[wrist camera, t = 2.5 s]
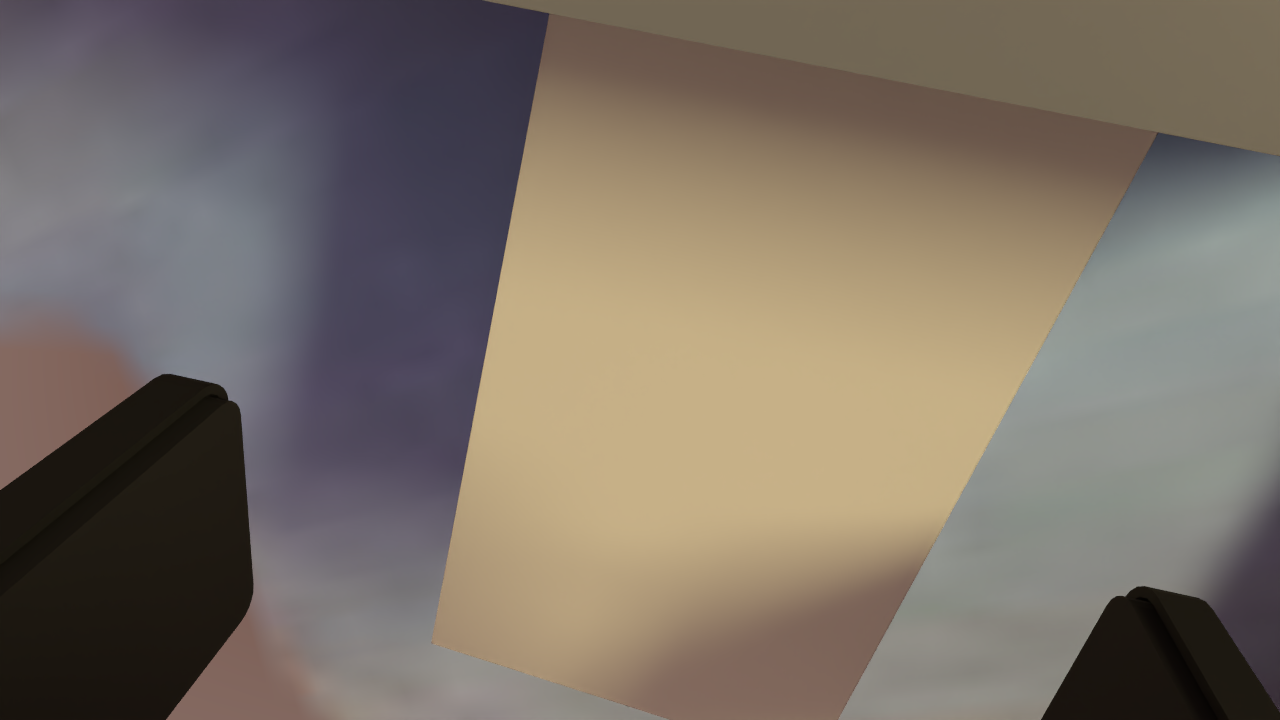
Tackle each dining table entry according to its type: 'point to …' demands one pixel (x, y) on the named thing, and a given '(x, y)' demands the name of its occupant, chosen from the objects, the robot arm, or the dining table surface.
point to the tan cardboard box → (749, 363)
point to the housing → (1013, 52)
